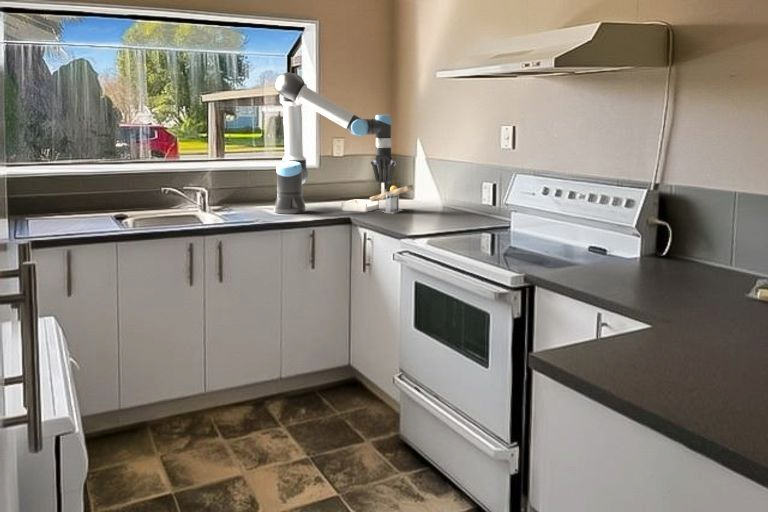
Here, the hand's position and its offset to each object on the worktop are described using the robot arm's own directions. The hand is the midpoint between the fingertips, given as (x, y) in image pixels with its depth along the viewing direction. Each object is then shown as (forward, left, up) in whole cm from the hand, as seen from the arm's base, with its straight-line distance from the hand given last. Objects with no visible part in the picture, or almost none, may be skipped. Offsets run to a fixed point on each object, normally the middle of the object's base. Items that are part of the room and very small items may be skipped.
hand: (383, 195), depth 363 cm
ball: (+8, -7, +4) cm, 12 cm away
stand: (+8, -7, -6) cm, 12 cm away
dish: (-9, -7, -6) cm, 13 cm away
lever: (+7, -4, +1) cm, 8 cm away
